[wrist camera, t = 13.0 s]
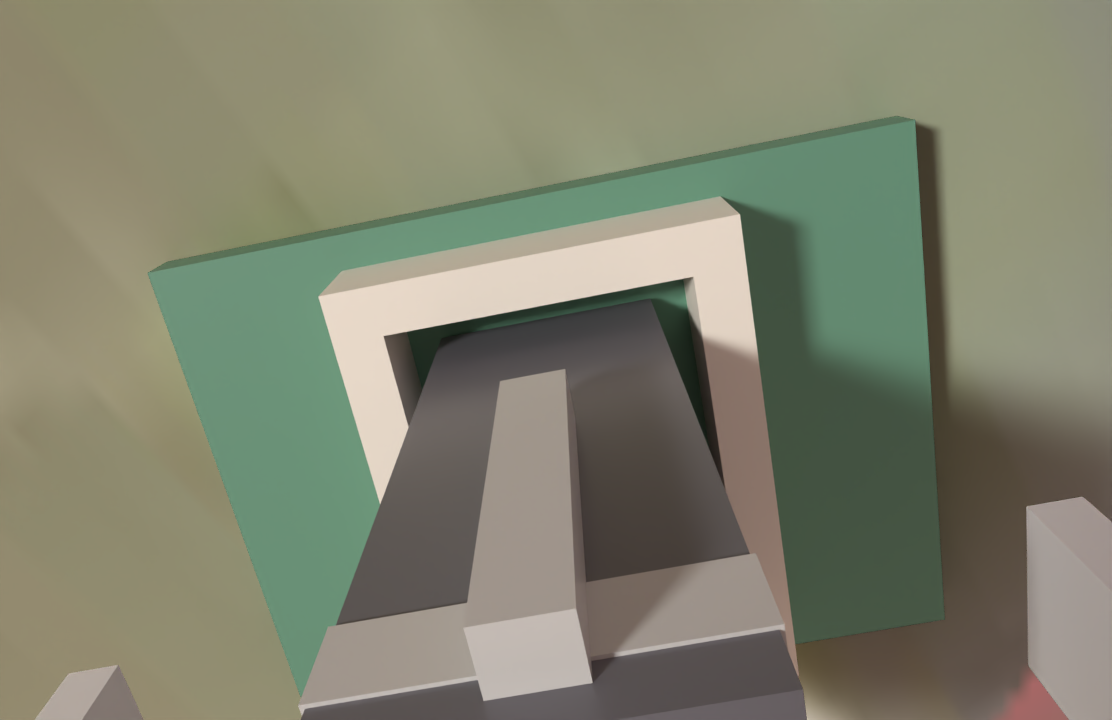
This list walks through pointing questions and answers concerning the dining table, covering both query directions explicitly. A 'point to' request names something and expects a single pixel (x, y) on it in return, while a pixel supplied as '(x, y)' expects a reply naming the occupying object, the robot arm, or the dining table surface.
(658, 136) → the dining table surface
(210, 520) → the dining table surface
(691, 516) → the plug
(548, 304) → the header board
